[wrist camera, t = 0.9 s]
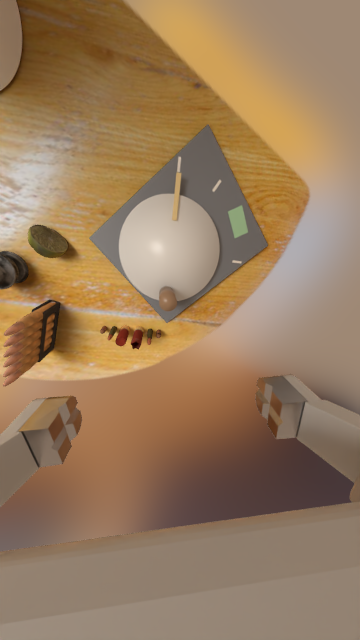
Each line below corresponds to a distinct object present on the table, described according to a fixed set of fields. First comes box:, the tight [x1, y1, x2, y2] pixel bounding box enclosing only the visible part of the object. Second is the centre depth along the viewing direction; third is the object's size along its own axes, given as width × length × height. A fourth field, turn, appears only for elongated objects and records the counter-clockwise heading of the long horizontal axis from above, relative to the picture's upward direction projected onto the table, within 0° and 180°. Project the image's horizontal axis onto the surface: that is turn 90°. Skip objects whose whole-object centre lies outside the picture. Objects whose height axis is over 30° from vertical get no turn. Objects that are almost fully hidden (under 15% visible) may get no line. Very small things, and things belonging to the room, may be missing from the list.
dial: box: [119, 172, 220, 311], centre depth 28 cm, size 20×17×6 cm
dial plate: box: [89, 125, 268, 323], centre depth 31 cm, size 20×24×1 cm
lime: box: [28, 225, 68, 258], centre depth 28 cm, size 4×5×5 cm
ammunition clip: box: [3, 300, 60, 386], centre depth 30 cm, size 11×2×12 cm, turn 159°
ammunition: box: [100, 325, 161, 349], centre depth 35 cm, size 12×2×6 cm, turn 83°
